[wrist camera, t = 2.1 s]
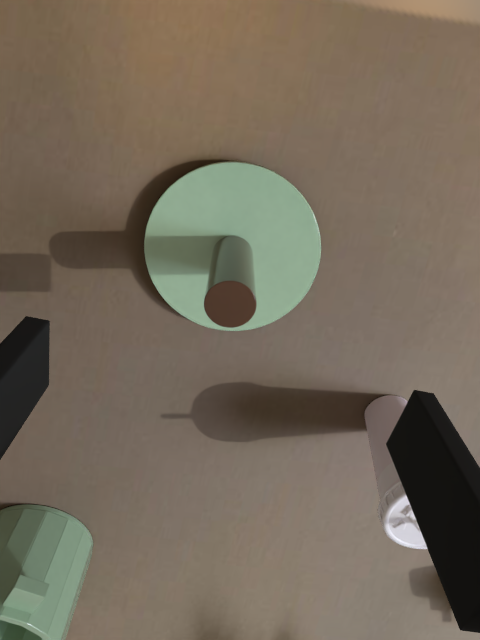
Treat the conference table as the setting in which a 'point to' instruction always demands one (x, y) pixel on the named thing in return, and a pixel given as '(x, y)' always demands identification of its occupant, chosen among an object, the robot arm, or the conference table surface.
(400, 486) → the smoothie
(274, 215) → the lid
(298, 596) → the conference table surface
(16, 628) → the pot
